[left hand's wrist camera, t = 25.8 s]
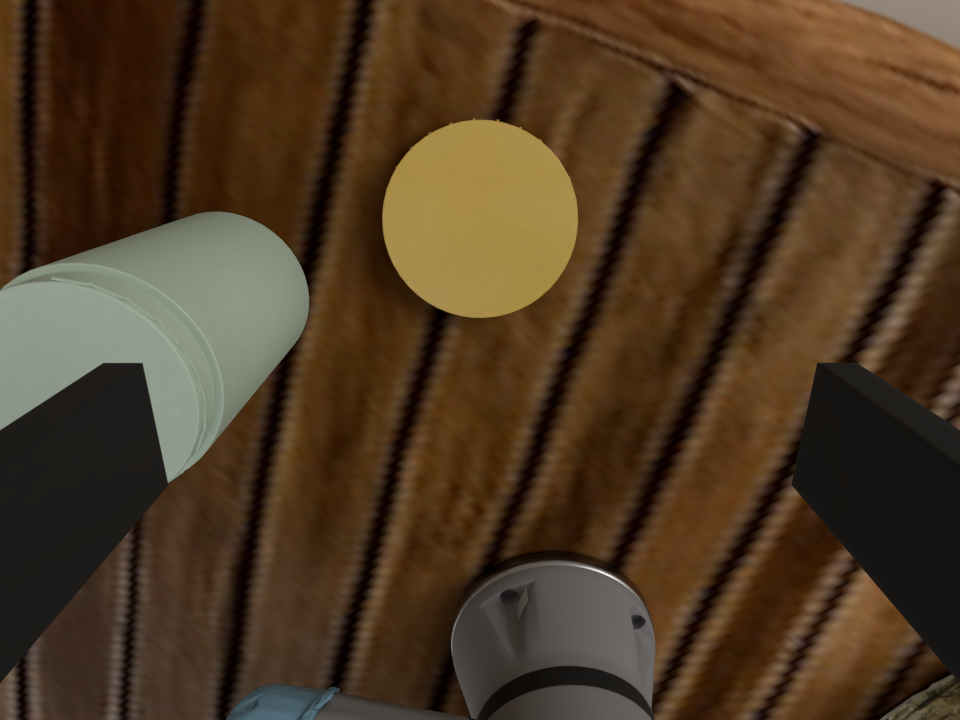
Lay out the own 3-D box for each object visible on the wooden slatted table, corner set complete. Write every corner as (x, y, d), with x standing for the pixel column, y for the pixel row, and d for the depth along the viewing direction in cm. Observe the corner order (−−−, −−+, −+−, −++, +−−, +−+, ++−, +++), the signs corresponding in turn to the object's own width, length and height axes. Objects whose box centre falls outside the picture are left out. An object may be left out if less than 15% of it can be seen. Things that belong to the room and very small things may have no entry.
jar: (303, 379, 41) (205, 525, 26) (148, 355, 40) (-42, 490, 25) (315, 227, 37) (208, 298, 22) (144, 198, 36) (-79, 251, 22)
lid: (492, 73, 34) (493, 70, 32) (612, 231, 37) (618, 236, 35) (346, 207, 37) (339, 211, 35) (469, 344, 40) (469, 354, 38)
